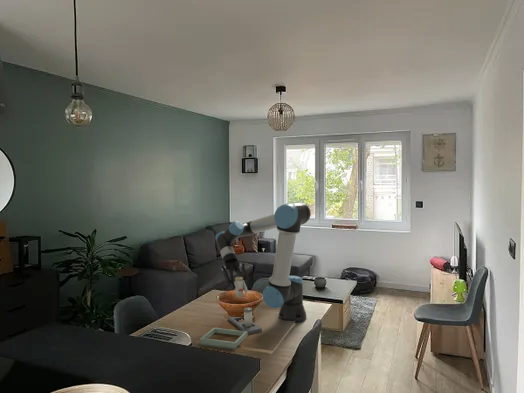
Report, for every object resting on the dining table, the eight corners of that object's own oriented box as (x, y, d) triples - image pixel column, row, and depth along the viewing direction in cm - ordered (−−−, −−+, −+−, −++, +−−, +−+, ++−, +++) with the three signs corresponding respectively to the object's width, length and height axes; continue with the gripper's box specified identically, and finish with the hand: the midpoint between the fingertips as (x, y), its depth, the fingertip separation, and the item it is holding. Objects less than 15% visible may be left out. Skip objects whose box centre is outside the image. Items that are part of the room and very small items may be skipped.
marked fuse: (244, 295, 206) (244, 276, 206) (241, 298, 202) (240, 278, 202) (237, 295, 208) (236, 276, 207) (234, 297, 204) (233, 278, 203)
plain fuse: (253, 327, 198) (253, 307, 197) (250, 330, 194) (250, 310, 193) (245, 326, 199) (245, 307, 199) (242, 329, 195) (242, 309, 195)
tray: (247, 337, 187) (247, 331, 187) (235, 349, 174) (235, 343, 174) (214, 333, 194) (214, 327, 194) (200, 344, 181) (200, 338, 181)
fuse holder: (228, 321, 210) (228, 316, 210) (241, 318, 214) (241, 314, 214) (247, 336, 189) (246, 331, 189) (261, 333, 192) (261, 328, 192)
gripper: (241, 258, 222) (255, 294, 208) (212, 262, 214) (225, 299, 200) (244, 250, 217) (259, 286, 203) (215, 254, 209) (228, 291, 195)
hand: (242, 293), depth 201 cm, fingers closed on marked fuse, 4 cm apart
